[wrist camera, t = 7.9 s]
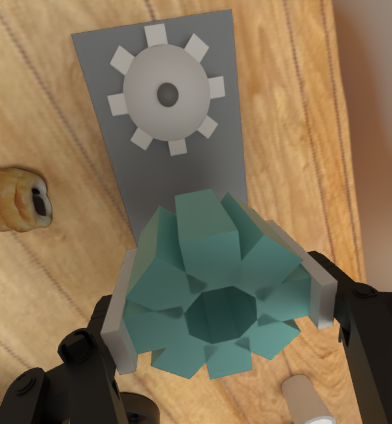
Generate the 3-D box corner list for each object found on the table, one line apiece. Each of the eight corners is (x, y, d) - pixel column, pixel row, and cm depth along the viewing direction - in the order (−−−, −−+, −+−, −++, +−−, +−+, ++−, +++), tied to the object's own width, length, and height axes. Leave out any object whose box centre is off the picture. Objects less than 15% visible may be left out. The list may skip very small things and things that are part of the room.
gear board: (161, 315, 33) (159, 373, 26) (77, 40, 20) (22, -11, 13) (252, 294, 34) (277, 345, 26) (227, 16, 21) (263, -46, 13)
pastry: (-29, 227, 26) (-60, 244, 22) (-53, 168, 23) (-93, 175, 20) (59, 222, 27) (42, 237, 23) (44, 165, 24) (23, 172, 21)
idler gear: (156, 308, 18) (152, 393, 12) (124, 205, 14) (97, 259, 9) (264, 284, 18) (308, 356, 13) (259, 179, 15) (314, 214, 9)
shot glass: (291, 369, 42) (314, 414, 36) (318, 376, 44) (344, 420, 38) (271, 392, 44) (289, 438, 38) (298, 398, 46) (319, 443, 39)
